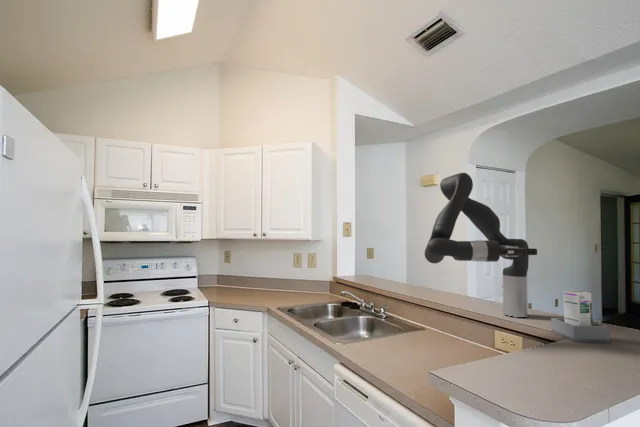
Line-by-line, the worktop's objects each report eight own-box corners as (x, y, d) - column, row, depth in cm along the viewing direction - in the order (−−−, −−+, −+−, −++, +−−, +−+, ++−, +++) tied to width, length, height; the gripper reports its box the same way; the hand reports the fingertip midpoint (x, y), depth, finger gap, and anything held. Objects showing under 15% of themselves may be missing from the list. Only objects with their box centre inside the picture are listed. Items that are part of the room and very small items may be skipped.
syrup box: (580, 336, 117) (578, 292, 118) (564, 332, 123) (562, 290, 124) (593, 335, 119) (592, 292, 120) (577, 331, 124) (575, 289, 125)
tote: (551, 332, 126) (551, 318, 127) (584, 332, 126) (584, 318, 126) (573, 341, 115) (573, 326, 115) (610, 342, 115) (609, 327, 115)
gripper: (490, 240, 119) (540, 240, 118) (475, 240, 133) (520, 240, 132) (490, 263, 119) (541, 263, 117) (476, 260, 133) (521, 260, 131)
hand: (530, 251), depth 125 cm, fingers open, 8 cm apart
